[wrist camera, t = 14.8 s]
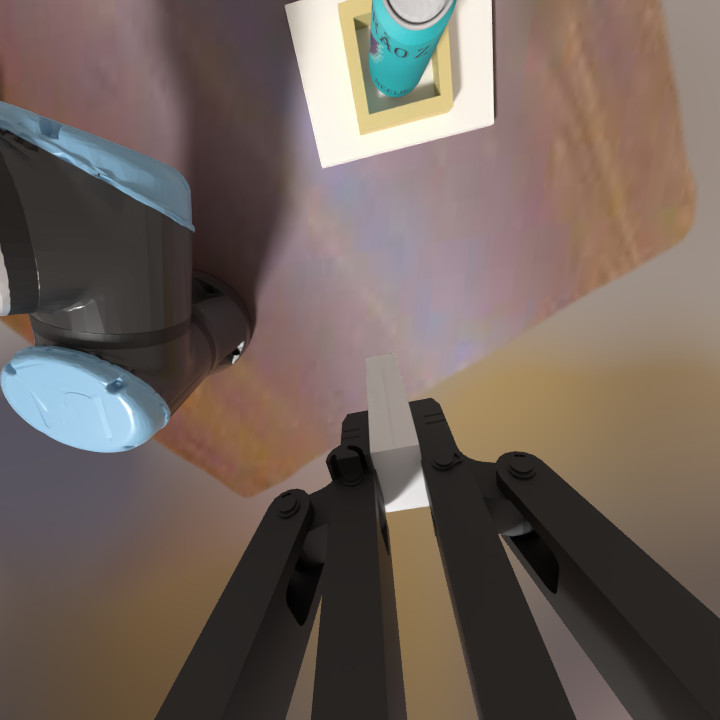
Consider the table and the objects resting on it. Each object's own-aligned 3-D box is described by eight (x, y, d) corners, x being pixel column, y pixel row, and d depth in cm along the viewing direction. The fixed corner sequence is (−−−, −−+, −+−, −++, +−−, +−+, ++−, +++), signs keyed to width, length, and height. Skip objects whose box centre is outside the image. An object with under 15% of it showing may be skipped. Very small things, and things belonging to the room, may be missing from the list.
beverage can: (370, 27, 31) (379, -107, 18) (427, 34, 32) (477, -94, 18) (365, 99, 34) (369, 29, 20) (417, 105, 34) (455, 39, 21)
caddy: (322, 168, 38) (319, 165, 34) (286, 10, 31) (278, -11, 28) (490, 125, 36) (503, 117, 33) (486, -51, 30) (501, -81, 27)
